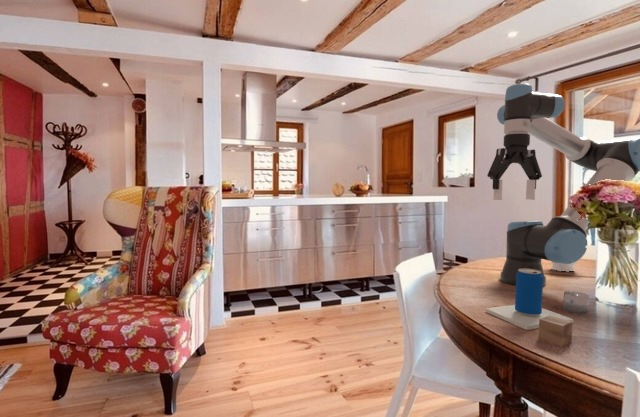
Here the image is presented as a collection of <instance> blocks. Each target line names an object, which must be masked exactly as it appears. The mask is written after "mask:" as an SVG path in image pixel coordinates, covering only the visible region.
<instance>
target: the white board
mask: <svg viewBox="0 0 640 417" xmlns="http://www.w3.org/2000/svg"><path fill="white" fill-rule="evenodd" d="M485 312H486V313H488V314H490V315H492V316H493V317H494V316H495V317H497V318H499V319H502V320H504V321H506V322H507V323H510V324H512V325H515V326H517V327H519V328H521V329H524V330H526V331H528V330H534V329H539V319H541V318H544V317H546V316H549V315H551V316H554V317H558V318H562V319H565V320H569V321H572V322H573V323H574V318H571V317H568V316H565V315H562V314H560V313H557V312H554V311H552V310H549V309H546V308H544V307H542V313H541V314H540V315H538V316H536V317H530V316H524V315H521V314H519V313H518V312H517V311H516V310H515V304H509V305H503V306H495V307H486V308H485Z"/></svg>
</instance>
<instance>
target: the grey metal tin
mask: <svg viewBox="0 0 640 417" xmlns="http://www.w3.org/2000/svg"><path fill="white" fill-rule="evenodd" d="M589 301H590V295H589V294H587V293H585V292H579V291H572V290H571V291H570V290H567V291H564V292H563V306H562V307H563V308H562V310H563V311H565V312H567V313H571V314H575V315H588V314H589V304H590V302H589Z"/></svg>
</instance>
